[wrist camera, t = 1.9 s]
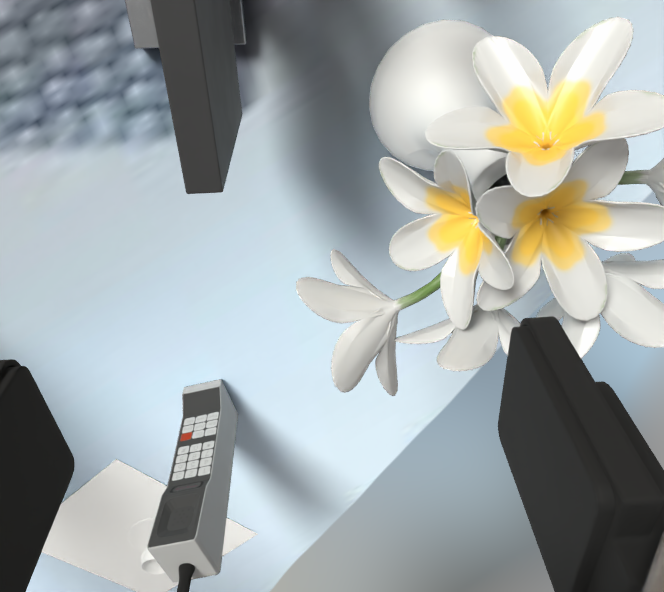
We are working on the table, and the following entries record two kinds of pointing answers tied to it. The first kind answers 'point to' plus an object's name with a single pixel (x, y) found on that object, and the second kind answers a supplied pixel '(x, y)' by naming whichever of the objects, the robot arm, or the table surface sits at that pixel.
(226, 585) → the table surface
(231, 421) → the vintage mobile phone
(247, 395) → the table surface
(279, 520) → the table surface
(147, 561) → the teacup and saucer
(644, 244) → the flower vase
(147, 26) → the monitor
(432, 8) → the table surface
